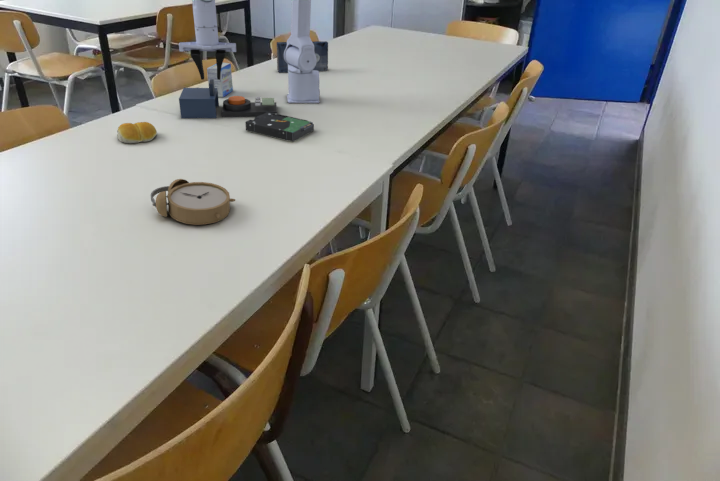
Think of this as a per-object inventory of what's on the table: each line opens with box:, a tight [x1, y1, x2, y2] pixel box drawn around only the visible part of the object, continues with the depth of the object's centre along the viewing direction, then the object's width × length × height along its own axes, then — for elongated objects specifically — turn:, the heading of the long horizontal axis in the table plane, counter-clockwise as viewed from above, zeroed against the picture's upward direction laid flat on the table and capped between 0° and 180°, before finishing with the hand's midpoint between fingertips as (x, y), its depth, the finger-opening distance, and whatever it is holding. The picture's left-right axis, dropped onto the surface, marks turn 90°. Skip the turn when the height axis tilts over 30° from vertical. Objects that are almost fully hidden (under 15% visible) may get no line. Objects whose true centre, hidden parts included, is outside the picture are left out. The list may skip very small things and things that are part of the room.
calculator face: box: [254, 96, 275, 106], centre depth 154 cm, size 5×8×1 cm, turn 9°
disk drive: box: [245, 112, 315, 142], centre depth 142 cm, size 10×3×15 cm
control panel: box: [221, 98, 278, 118], centre depth 155 cm, size 15×9×3 cm, turn 99°
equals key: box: [227, 95, 246, 105], centre depth 153 cm, size 5×5×1 cm
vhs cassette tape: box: [276, 40, 329, 74], centre depth 195 cm, size 18×3×10 cm, turn 108°
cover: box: [178, 79, 220, 119], centre depth 151 cm, size 9×11×9 cm
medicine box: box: [206, 62, 234, 98], centre depth 167 cm, size 8×4×9 cm, turn 168°
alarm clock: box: [150, 178, 236, 226], centre depth 103 cm, size 11×5×15 cm
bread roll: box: [116, 121, 158, 144], centre depth 134 cm, size 8×9×4 cm
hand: (210, 78), depth 149 cm, fingers open, 4 cm apart
